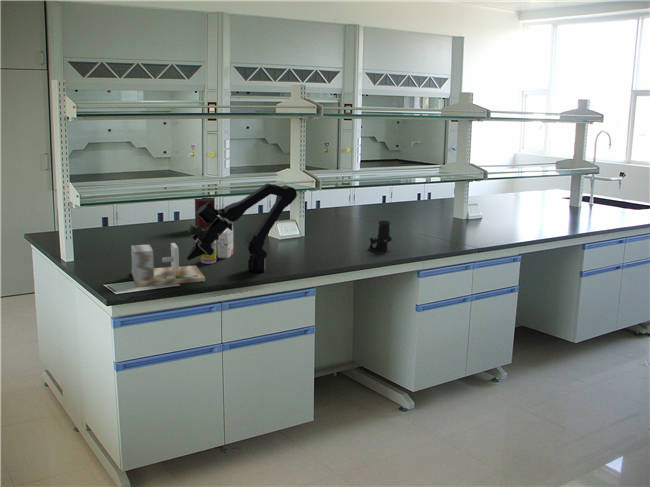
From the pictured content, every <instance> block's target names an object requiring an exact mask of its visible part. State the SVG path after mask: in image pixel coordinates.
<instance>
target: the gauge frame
mask: <svg viewBox="0 0 650 487" xmlns="http://www.w3.org/2000/svg"><path fill="white" fill-rule="evenodd" d="M130 247H131V248H130V249H131V251H130V252H131V254H130V256H131V269H130V271H131V272H130V274H131V276H132V279H133V282H134V284H135V287H137V286H139V287H150V286H149V285H152V286H162V285H161V284H164V285H174V284H187V283H200V282H201V281H202V282H206V276H204V274H203V273H202V272H201V270H200V269H199V268H198V266H197V265H182V266H180V265H179V273H180V276H177V275H176V276H175V275H174V273H173V271H172V270H171V266H167V267H155V266H154V250H153V248H152V246H151V245H150V244H136V245H131V246H130ZM202 282H201V283H202Z"/></svg>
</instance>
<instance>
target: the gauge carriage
mask: <svg viewBox="0 0 650 487" xmlns="http://www.w3.org/2000/svg"><path fill="white" fill-rule="evenodd" d="M161 260H162V261H161V262H162V263H170V267H171V270H172V271H173V273H174V275H175V276H176V275H177V276H180V273H179V267H180V251H179V246H178V245H177V244H176V243H175V242H171V243H170V256H164V257H162V259H161Z"/></svg>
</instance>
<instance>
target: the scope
mask: <svg viewBox="0 0 650 487" xmlns="http://www.w3.org/2000/svg"><path fill="white" fill-rule="evenodd" d="M378 224H379V225H378V230H377V231H378V233H377V237H375V238H374V237H373V232H370V237H369V243H368V244H369V247H368V248H369V249H370V250H371V251H372V252H375V251H377V250H378V251H381V252H382V251H383V252H384V251H385V252H386V251H388V245H389V244H388V243H389V242H391V241H392V239H393V238H392V236H390V234H391V233H390V232H391V231H390V229H391V228H390V225H391V221H389V220H379V221H378Z"/></svg>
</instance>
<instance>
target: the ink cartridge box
mask: <svg viewBox="0 0 650 487" xmlns="http://www.w3.org/2000/svg"><path fill="white" fill-rule="evenodd" d="M233 224H234V223H232V231H231V230H230V229H229V228H227V229H226V230H225V231H224V232H223V233H222V234H221V235H220V236H219V237H218V238H219V239H218V240H216V243H217V259H218V258H219V259H229V258H231V256H233V255H234V226H233ZM218 235H219V234H218Z"/></svg>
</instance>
